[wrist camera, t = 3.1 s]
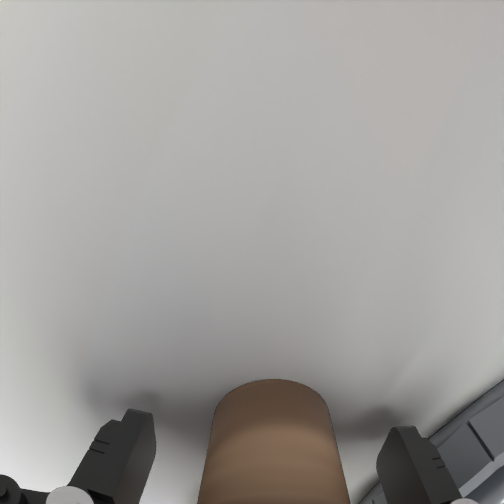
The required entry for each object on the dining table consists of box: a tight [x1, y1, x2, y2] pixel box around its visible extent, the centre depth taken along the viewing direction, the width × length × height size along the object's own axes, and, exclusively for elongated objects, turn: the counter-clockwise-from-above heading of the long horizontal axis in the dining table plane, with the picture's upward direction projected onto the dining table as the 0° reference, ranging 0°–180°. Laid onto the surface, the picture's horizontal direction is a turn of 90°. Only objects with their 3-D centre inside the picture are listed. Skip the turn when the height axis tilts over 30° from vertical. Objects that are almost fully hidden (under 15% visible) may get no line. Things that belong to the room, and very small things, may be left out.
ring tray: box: [359, 380, 504, 504], centre depth 10 cm, size 20×20×3 cm
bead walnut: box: [197, 379, 350, 504], centre depth 8 cm, size 4×4×4 cm
